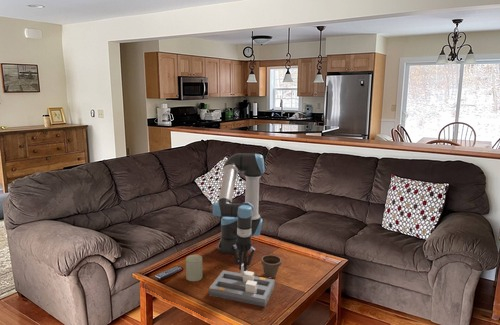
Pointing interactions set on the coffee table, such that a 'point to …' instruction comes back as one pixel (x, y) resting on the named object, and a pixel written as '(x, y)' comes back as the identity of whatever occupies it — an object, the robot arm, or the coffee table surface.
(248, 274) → the tab
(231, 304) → the coffee table surface
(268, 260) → the flower pot
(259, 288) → the switch bank
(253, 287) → the tab
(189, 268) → the can
